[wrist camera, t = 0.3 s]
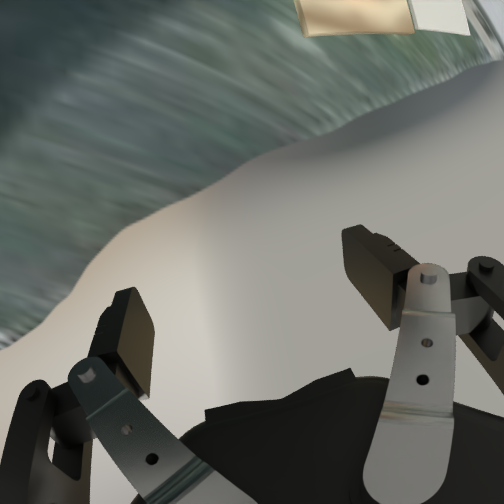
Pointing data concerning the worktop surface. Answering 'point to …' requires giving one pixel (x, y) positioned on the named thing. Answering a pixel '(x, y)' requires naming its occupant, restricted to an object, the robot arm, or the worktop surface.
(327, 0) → the stand base
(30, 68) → the worktop surface
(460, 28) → the pad
